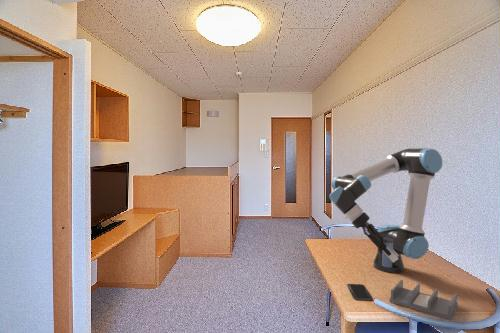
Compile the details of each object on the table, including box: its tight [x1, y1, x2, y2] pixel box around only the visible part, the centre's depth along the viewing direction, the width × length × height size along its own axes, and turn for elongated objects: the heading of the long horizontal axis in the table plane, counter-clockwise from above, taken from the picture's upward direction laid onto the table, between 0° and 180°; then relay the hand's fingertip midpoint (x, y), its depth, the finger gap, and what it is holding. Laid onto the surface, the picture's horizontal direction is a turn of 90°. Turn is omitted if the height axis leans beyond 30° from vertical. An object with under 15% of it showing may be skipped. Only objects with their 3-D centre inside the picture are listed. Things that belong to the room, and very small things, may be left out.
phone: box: [346, 283, 374, 302], centre depth 141 cm, size 8×1×15 cm
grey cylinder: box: [382, 237, 394, 268], centre depth 139 cm, size 4×4×12 cm
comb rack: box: [389, 279, 459, 321], centre depth 131 cm, size 15×22×5 cm
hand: (396, 258), depth 138 cm, fingers closed on grey cylinder, 4 cm apart
